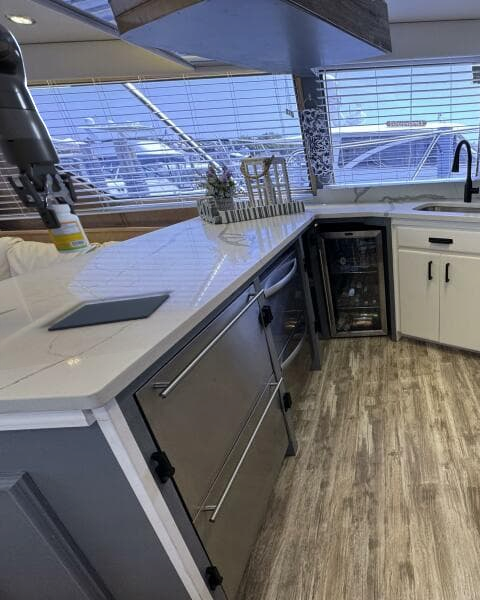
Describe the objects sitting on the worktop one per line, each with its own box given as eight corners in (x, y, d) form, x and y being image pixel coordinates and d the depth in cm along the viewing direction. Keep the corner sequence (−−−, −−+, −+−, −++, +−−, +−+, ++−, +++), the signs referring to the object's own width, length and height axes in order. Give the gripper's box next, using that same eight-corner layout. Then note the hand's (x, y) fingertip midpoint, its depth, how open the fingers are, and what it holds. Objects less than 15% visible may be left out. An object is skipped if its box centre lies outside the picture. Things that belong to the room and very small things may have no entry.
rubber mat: (48, 331, 66) (47, 329, 66) (86, 306, 78) (85, 304, 78) (147, 317, 70) (147, 315, 70) (169, 296, 82) (169, 294, 82)
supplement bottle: (67, 249, 72) (47, 205, 68) (96, 246, 74) (78, 203, 70) (52, 255, 68) (29, 207, 64) (83, 252, 69) (62, 205, 65)
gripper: (27, 141, 67) (64, 222, 74) (-36, 135, 54) (15, 234, 61) (70, 140, 69) (103, 219, 76) (19, 134, 56) (63, 230, 63)
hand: (63, 225), depth 68 cm, fingers closed on supplement bottle, 5 cm apart
